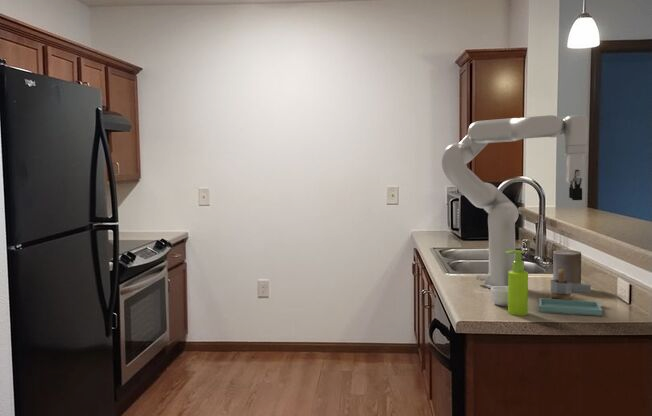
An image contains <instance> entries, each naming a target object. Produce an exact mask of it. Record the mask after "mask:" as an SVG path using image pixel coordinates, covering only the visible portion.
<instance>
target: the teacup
mask: <svg viewBox="0 0 652 416" xmlns="http://www.w3.org/2000/svg"><path fill="white" fill-rule="evenodd" d="M490 296H491V297H490V298H491V299H492V302H493V303H494V304H495V305H496V306H501V307H508V286H493V287H491V288H490Z"/></svg>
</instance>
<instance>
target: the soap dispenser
mask: <svg viewBox="0 0 652 416" xmlns="http://www.w3.org/2000/svg"><path fill="white" fill-rule="evenodd" d="M505 253H507V254H512V253H515V260H514V261H513V271H509V272H508V306H507V313H508V314H509V315H513V316H521V317H523V316H526V315H528V308H529V307H528V302H529V300H528V299H529V298H528V296H529V272H528V271H525V261H523V260H522V254H524V253H525V251H523V250H519V249H517V250H516V249H515V250H511V251H507V252H505Z"/></svg>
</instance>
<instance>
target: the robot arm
mask: <svg viewBox="0 0 652 416" xmlns="http://www.w3.org/2000/svg"><path fill="white" fill-rule="evenodd" d="M588 131H589V130H588V117H587V116H586V115H585V114H575V115H567V116H557V115H554V114H552V115H551V114H549V115H538V116H527V117H511V118H509V117H508V118H499V119H487V120H486V119H485V120H477V121H474V122H472V123H471V124H470V125H469V127H468V129H467V134H466V135H465V137H463V138H462V139H461V141H460V142H454V143H451V144H449V145H448V146H446V148H445V149H444V151H443V153H442V158H441V167H442V171H443V173H444V175H445V177H446V178H447V180H448V181H450V183H451V184H452V185H453V186H455V188H456V189H457V190H458V191H459V192H460V193H461V194H462V195H463V196H464V197H465V198H466V199H467V200H468V201H469V203H471V204H472V205H473V206H475V207H476V208H479V209H483V210H484V211H485V212H486V213H487V214H488V215H487V227H488V272H487V274H484V275H483V274H476V280H477V281H478V280H479V281H484V283H483V284H484V287H485V288H486V289H487V288H488V289H491V287H493V286H508V272H509V271H513V261H514V260H516V253H512V254H507V253H505V252H507V251H511V250H516V222H517V220H518V218H519V214H520V213H519V210H518V207H517V206H516V204H514V203H513V202H512V200H510V199H509V198H508V196H506V194H504V193H503V192H502V191H501V190H499V189H498V187H496V186H495V185H494V184H493V183H490V182H484V181H483V180H481V179H480V178H479V176H477V175H476V174H475V172H473V171H472V170H471V169H470V168H469V167H467V164H468V163H470V162H471V161H473V159H475V157H476V156H477V155H479V153H480V152H481V151H483V150H484V149H485V147H487V146H488V144H492V143H493V144H494V143H505V142H507V143H508V142H510V143H511V142H517V141H520V140H526V139H537V138H559V137H563V155H564V156H566V168H565V169H566V172H565V173H566V175H565V182H566V183H567V184H569V187H568V190H569V191H568V192H569V193H568V198H569V199H571V200H572V201H582V200H583V186H582V183H583V182H584V177H585V176H584V175H585V174H584V173H585V155H588V134H589V133H588Z"/></svg>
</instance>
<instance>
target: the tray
mask: <svg viewBox="0 0 652 416" xmlns="http://www.w3.org/2000/svg"><path fill="white" fill-rule="evenodd" d="M538 308H539V313H551V314H564V315H565V314H566V315H576V316H577V315H581V316H591V315H593V316H595V317H603V308H602V306H601V305H600V302H599V301H593V300H592V301H590V300H561V299H548V298H543V297H541V298H540V297H538ZM593 316H592V317H593Z"/></svg>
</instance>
